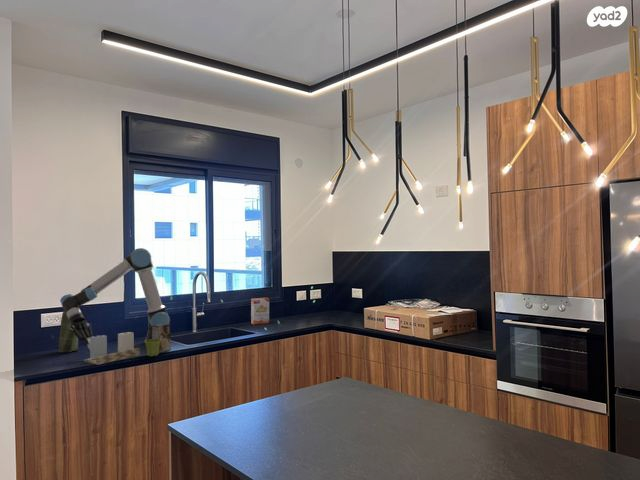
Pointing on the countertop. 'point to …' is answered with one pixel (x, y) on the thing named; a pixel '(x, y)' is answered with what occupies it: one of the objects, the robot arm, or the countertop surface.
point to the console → (114, 356)
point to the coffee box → (162, 336)
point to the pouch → (67, 336)
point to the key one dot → (125, 341)
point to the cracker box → (259, 310)
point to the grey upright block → (98, 346)
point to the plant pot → (152, 346)
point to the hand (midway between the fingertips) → (91, 348)
